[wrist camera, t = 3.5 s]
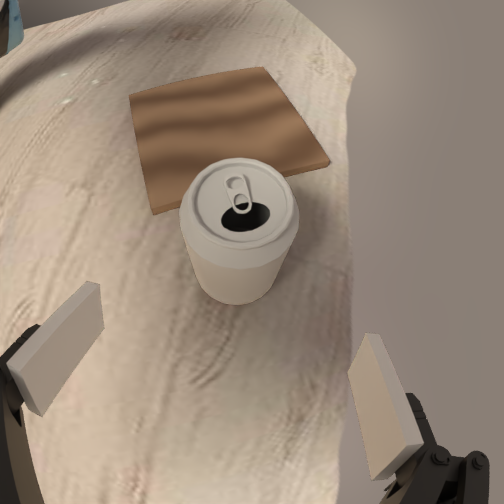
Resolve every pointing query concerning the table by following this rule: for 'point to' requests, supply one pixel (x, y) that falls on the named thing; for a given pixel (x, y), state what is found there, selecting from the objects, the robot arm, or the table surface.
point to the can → (238, 228)
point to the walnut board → (217, 131)
